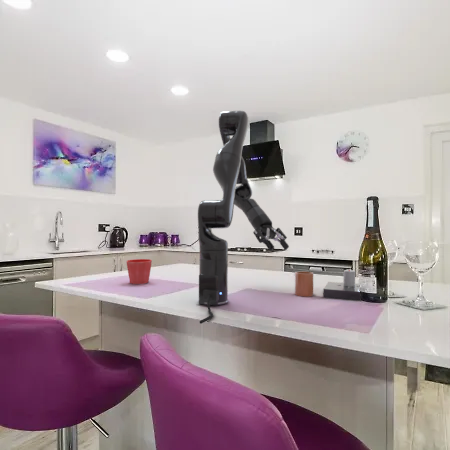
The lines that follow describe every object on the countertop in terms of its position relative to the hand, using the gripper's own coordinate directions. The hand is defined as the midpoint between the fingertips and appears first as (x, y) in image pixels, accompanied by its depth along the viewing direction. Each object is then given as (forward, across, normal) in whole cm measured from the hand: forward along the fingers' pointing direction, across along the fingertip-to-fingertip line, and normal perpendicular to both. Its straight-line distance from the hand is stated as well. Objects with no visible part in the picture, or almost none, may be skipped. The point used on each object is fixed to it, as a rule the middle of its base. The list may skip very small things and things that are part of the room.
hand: (280, 248), depth 129 cm
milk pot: (+19, 0, +3) cm, 20 cm away
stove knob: (+24, +14, -6) cm, 28 cm away
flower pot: (-23, -36, +46) cm, 63 cm away
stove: (+26, +11, -3) cm, 28 cm away
